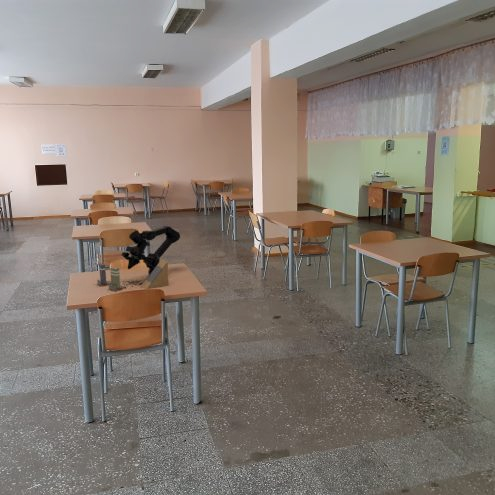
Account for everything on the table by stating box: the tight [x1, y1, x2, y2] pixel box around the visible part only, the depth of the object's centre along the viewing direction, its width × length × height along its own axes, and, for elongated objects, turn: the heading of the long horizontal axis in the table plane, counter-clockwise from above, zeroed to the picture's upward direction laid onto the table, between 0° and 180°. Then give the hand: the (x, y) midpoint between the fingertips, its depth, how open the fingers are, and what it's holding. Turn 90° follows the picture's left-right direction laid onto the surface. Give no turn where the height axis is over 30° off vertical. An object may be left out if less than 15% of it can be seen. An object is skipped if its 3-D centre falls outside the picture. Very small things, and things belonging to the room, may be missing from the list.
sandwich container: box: [140, 259, 169, 290], centre depth 291 cm, size 9×15×15 cm, turn 125°
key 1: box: [98, 262, 107, 284], centre depth 294 cm, size 3×5×12 cm, turn 31°
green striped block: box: [109, 267, 121, 289], centre depth 284 cm, size 3×5×12 cm, turn 57°
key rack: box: [96, 279, 127, 292], centre depth 291 cm, size 10×22×3 cm, turn 45°
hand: (128, 268), depth 292 cm, fingers closed
